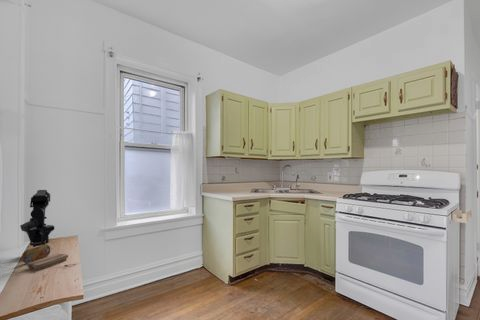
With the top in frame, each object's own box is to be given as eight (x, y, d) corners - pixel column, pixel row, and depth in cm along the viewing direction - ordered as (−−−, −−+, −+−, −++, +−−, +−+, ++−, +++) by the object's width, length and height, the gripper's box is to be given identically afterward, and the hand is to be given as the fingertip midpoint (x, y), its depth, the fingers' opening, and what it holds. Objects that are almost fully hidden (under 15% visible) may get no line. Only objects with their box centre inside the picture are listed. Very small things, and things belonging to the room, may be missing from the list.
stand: (26, 269, 131) (27, 263, 131) (57, 258, 148) (58, 253, 148) (37, 270, 129) (38, 265, 129) (67, 259, 146) (68, 254, 146)
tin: (24, 265, 136) (25, 250, 136) (20, 265, 137) (21, 250, 137) (50, 256, 151) (51, 242, 151) (46, 256, 151) (47, 242, 152)
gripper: (11, 217, 139) (10, 244, 139) (35, 219, 135) (34, 247, 134) (32, 214, 150) (31, 239, 149) (55, 215, 145) (54, 242, 145)
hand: (37, 242), depth 144 cm, fingers open, 9 cm apart
